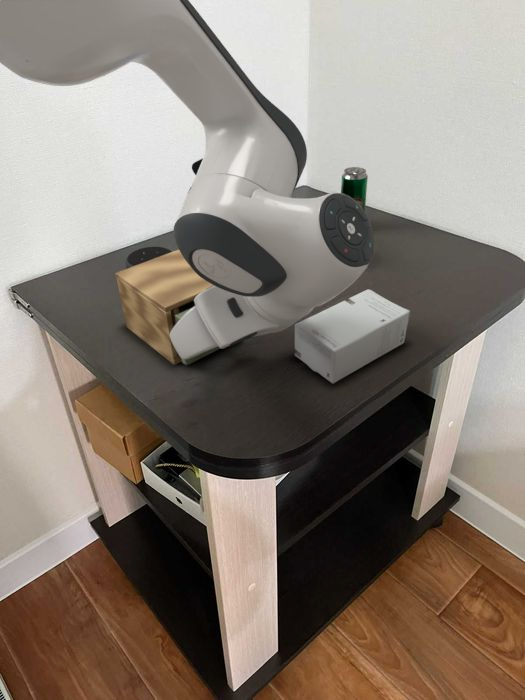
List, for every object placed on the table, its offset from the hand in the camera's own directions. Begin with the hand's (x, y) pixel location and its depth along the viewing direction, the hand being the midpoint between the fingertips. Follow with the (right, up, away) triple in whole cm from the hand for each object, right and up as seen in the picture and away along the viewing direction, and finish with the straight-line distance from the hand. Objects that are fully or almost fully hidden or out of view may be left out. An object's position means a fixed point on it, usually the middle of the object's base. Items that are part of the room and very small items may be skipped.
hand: (224, 329), depth 74 cm
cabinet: (-8, 0, +11) cm, 13 cm away
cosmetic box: (+24, +2, +7) cm, 25 cm away
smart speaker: (-15, +11, +26) cm, 32 cm away
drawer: (-4, -1, +7) cm, 8 cm away
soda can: (+24, +23, +40) cm, 52 cm away
